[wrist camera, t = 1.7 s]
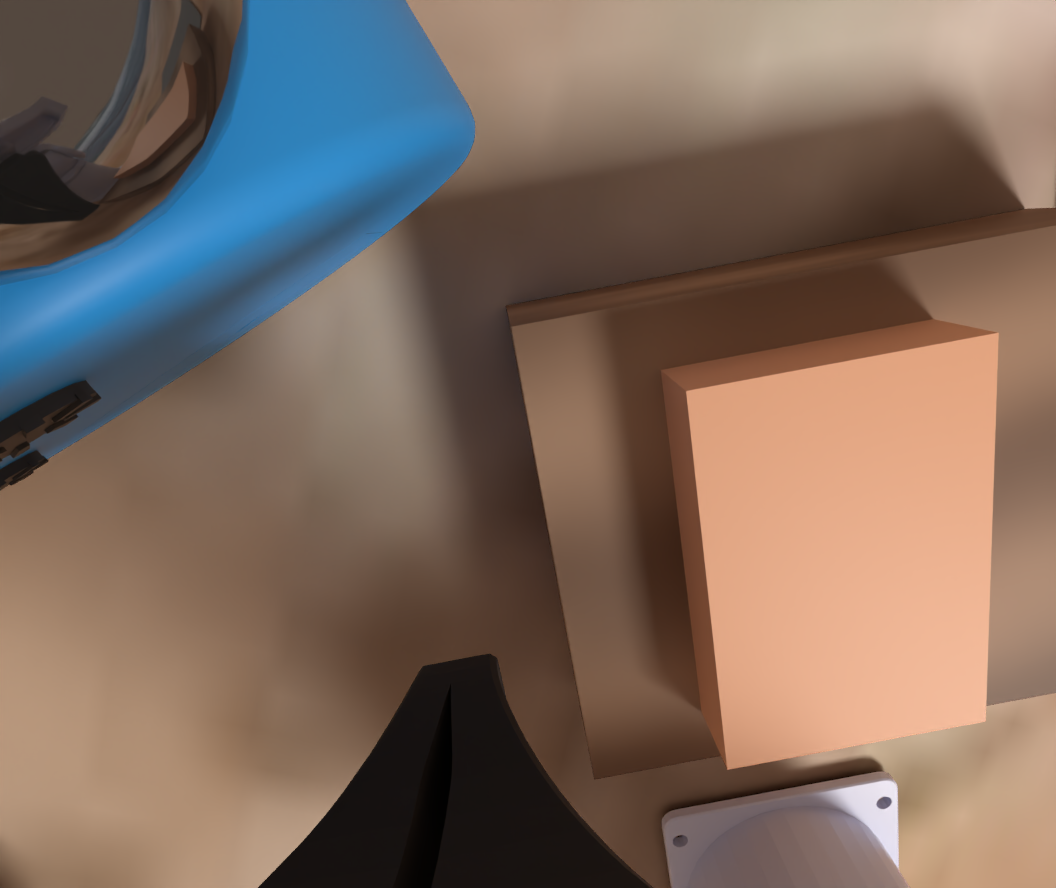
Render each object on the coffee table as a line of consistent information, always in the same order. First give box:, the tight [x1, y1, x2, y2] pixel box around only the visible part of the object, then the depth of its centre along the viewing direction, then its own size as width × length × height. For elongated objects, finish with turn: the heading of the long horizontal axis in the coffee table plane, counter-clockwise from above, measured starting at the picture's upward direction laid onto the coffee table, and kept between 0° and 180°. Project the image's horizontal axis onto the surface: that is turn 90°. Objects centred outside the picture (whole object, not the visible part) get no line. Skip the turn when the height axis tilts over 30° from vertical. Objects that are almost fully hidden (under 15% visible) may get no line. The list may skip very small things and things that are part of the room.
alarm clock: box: [0, 0, 475, 490], centre depth 10 cm, size 13×6×15 cm, turn 122°
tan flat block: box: [506, 208, 1056, 779], centre depth 18 cm, size 12×14×4 cm
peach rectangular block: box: [661, 319, 999, 770], centre depth 15 cm, size 9×6×2 cm, turn 10°
